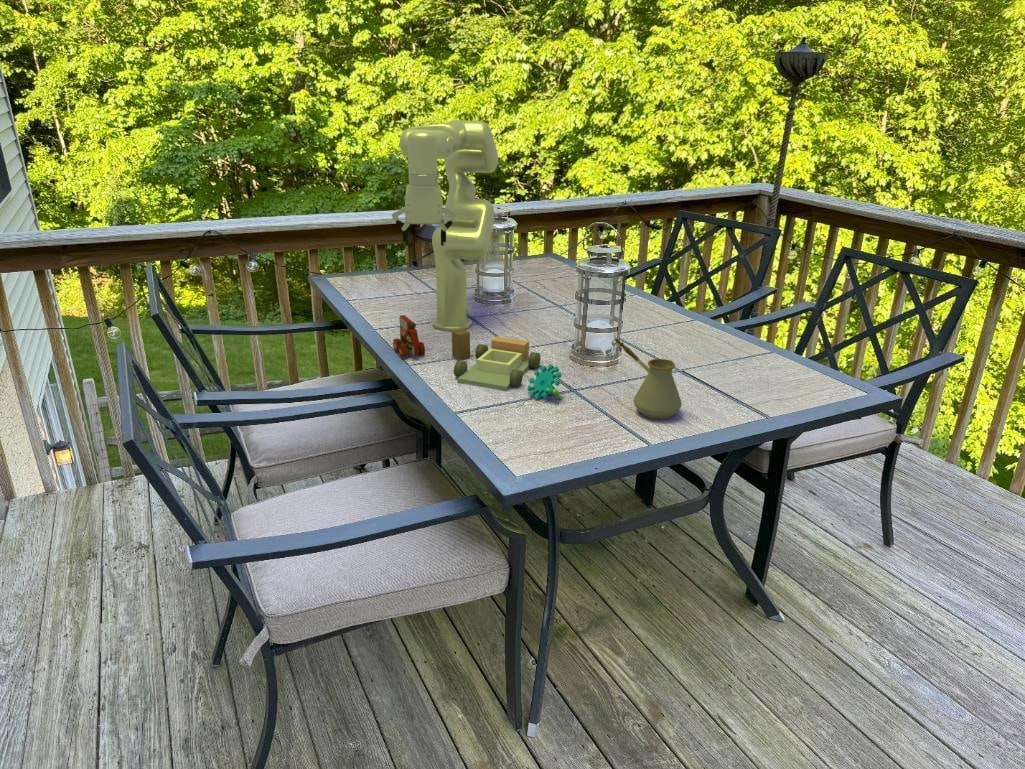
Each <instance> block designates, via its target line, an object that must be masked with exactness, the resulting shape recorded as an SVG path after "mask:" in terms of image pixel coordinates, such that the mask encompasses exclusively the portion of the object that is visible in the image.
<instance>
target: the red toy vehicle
mask: <svg viewBox="0 0 1025 769" xmlns="http://www.w3.org/2000/svg"><path fill="white" fill-rule="evenodd" d="M398 318H399V320H398V321H399V337H400V338H394V339H393V341H392V347H393V350H394V352H395V353H396V354H398V355H399V357H401V358H400V359H402V358H404V359H407V358H408V356H409V355H412V356H414V357H418V356H419V357H422V356H425V354H426V347H425V344H424V342H422V341H420V340H419V336H418V335H419V334H418V330H417V324H416V323H415V322H414V321H412V319H410V318H409V317H407V316H406V314H401V315H399V317H398Z"/></svg>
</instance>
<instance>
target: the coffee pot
mask: <svg viewBox="0 0 1025 769" xmlns="http://www.w3.org/2000/svg"><path fill="white" fill-rule="evenodd" d="M614 341H615V343H614ZM616 344H618V345H619V347H620V348H622V349H623V351H624V352H625V353H626V354H627V355H628V356H630V357H631V358H632V359H634V361H636V362H638V364H640V366H641V367H642V368H644V370H645V371H646V372H647V374H646V377H645V378H644V380H643V382H642V383H641V385H640V387H639V388H638V390H637V391H636V394H635V395H634V398H633V404H634V406H635V408H636V409H637V410H638V411H639V412H640V413H641V415H643V416H644V417H647V418H649V419H653V420H665V419H670V418H671V417H672V416H674V415H675V414H677V413H678V412H679V411H680V409H681V407H682V403H683V402H682V400H681V396H680V393H679V391H678V388H677V385H676V384H677V383H676V382H675V378H674V376H673V369H675V367H676V364H675V361H673V360H671V359H666V358H665V359H664V358H653V359H650V360H649V361H647V364H645V363H644V362H643V361H642V360H641V359H640V358H639V357H638V356H637V355H636V354H635V353H634V351H633V350H632V349H630V348H629V347H628V346H626V345H625V344H624V342H623V341H620V339H618V338H617V337H616V338H614V339H613V340H612V341H611V345H612V346H615V345H616Z"/></svg>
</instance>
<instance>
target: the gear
mask: <svg viewBox="0 0 1025 769" xmlns="http://www.w3.org/2000/svg"><path fill="white" fill-rule="evenodd" d="M547 366H548V367H547ZM547 366H545V365H541V367H540V371H539V370H536V371H534V372H533V375H534V376H535V379H534V378H533V377H530V378H529V379H528V382H529V383H530V384H531V385H530V384H528V386H527V387H526V388H527V391H528V392H529V393H528V394H529V396H530V397H531V398H535V400H541V399H540V398H543V399H547V398H548V397H549V395H548V394H550V395H552V397H554V398H557V399H558V400H560V401H562V400H563V397H562V396H561V395H560V394H559V393H560V391H559V390H558V389H557V388H555V387H554V385H555V386H556V387H558V386H560V384H561V381H560V380H559V379H561V377H562V373H561V372H560V368H559V367H558V366H557V365H556V366H554V365H553V364H551V363H550V364H548V365H547ZM556 378H558V379H556ZM532 384H533V386H532Z"/></svg>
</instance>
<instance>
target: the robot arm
mask: <svg viewBox="0 0 1025 769" xmlns="http://www.w3.org/2000/svg"><path fill="white" fill-rule="evenodd" d="M399 148H400V151H401V153H402V155H403V156H404V157H406V158H407V159H408V160H407V161H408V184H407V185H406V188H405V198H404V200H405V201H404V202H405V203H404V207H402V208H400V209H398V210H396V211H394V212H393V213H392V214H391V217H392V219H393V221H394V222H395V224H396V225H397V226H398V227H399V229H401V230H402V242H403V243H405V246H406V247H407V246H409V244H410V234H409V233H410V232H409V231H410V230H409V229H408V228H409V227H410V225H438V228H437V229H435V230H434V231H433V233H432V237H431V244H432V250H433V254H434V262H435V279H436V280H435V281H436V284H435V285H436V311H437V312H436V318H434V319H433V320H432V326H433V327H434V328H435V329H437V330H440V331H448V332H452V331H453V330H458V329H465V330H468V328H470V327H471V326H472V324H473V322H472V320H471V319H470V318H469V317H468V313H469V312H470V311H471V308H470V307H469V305H467V303H468V301H467V297H468V296H467V294H468V293H467V269H466V267H465V265H464V264H463V262H462V261H461V259H462V260H463V259H464V260H465V259H466V260H482V259H484V258H486V256H487V254H488V251H489V247H490V243H491V237H492V234H493V227H494V222H495V207H494V205H493V204H492V202H490V201H489V200H487V199H483V198H482V199H481V198H479V199H478V198H475V197H476V193H477V191H476V190H477V189H476V186H475V184H474V183H473V181H472V180H471V179H470V178H469V177H468V176H467V175H466V173H477V174H478V173H479V174H491V173H493V172H495V171H496V170H497V167H498V164H499V155H498V150H497V146H496V142H495V139H494V135H493V133H492V130H491V128H490V127H489V125H488V124H487V122H485V121H482V120H464V119H463V120H461V119H460V120H458V119H455V120H450V121H447V122H444V123H435V124H431V125H430V124H429V125H423V126H422V125H420V126H412V127H409V128H406V129H405V130H403V132H402V133H401V134H400V138H399ZM438 160H444V167H445V168H444V169H445V173H446V177H447V180H448V193H447V198H446V201H445V206H444V204H443V194H442V187H441V185H438V184H439V183H440V182H444V178H443V176H440V175H439V174H438ZM403 214H404V218H405V221H404V223H403V222H402V220H400V218H399V216H401V215H403Z"/></svg>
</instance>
